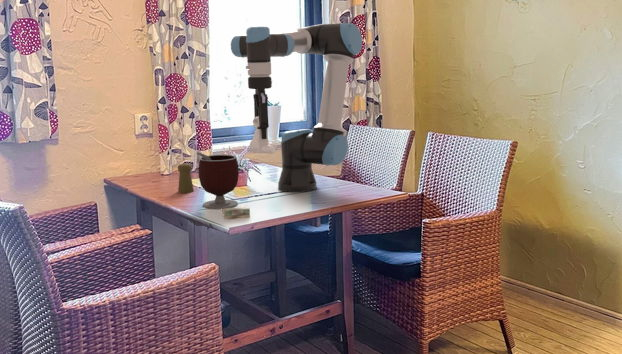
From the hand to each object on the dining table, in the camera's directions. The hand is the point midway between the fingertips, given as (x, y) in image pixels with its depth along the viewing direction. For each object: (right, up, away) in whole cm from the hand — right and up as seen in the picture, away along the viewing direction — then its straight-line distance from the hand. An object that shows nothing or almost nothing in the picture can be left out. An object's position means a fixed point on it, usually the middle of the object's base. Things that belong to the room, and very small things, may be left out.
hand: (262, 147), depth 206 cm
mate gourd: (-17, -20, +15) cm, 30 cm away
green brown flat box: (-9, -22, +2) cm, 24 cm away
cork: (-33, -16, +40) cm, 54 cm away
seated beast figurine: (0, -2, 0) cm, 2 cm away
